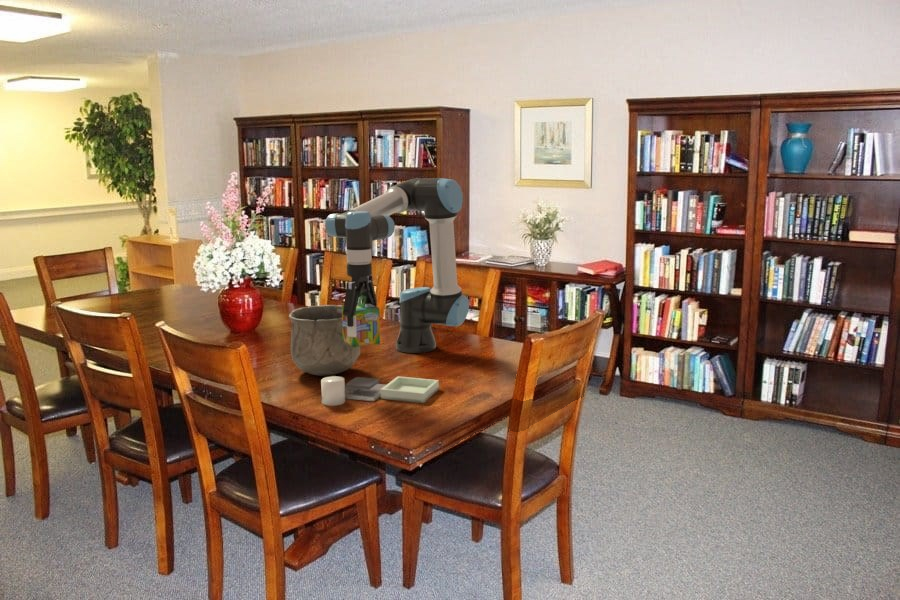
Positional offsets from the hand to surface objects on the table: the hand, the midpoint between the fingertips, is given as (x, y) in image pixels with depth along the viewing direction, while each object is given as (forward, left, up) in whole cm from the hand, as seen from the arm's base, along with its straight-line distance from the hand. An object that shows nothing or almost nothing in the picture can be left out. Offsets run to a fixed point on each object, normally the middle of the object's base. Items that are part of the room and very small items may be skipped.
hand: (361, 331), depth 238 cm
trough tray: (-4, +15, -20) cm, 25 cm away
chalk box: (0, 0, -4) cm, 4 cm away
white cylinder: (+10, -5, -20) cm, 23 cm away
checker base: (0, 0, -20) cm, 20 cm away
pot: (-16, -21, -20) cm, 33 cm away
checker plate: (0, 0, -17) cm, 17 cm away
